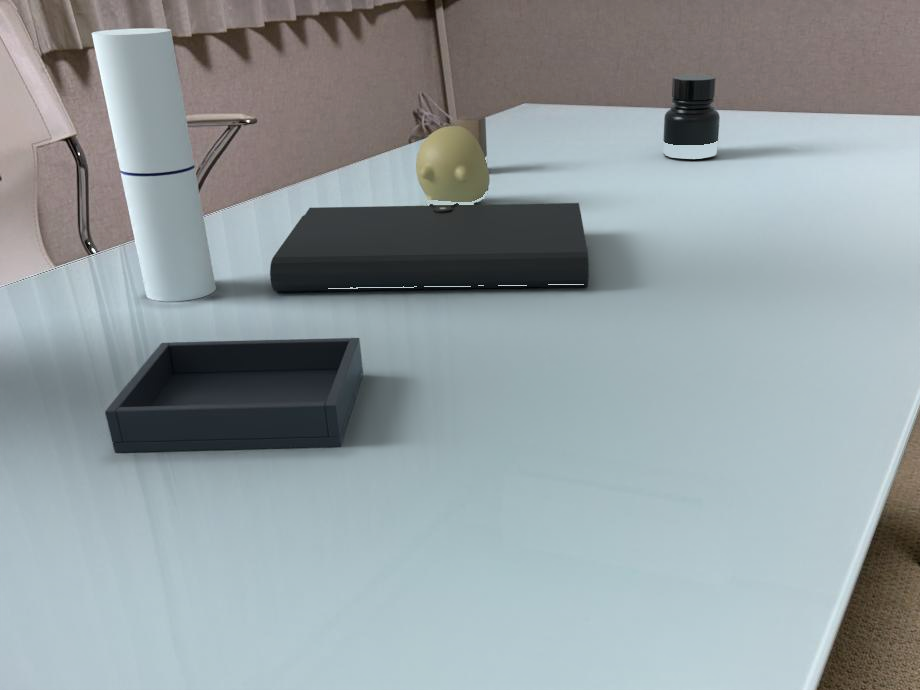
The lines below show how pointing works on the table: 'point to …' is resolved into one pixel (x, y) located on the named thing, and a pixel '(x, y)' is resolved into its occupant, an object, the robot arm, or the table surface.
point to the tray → (239, 396)
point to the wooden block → (475, 129)
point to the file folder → (433, 248)
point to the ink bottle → (692, 112)
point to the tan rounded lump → (452, 166)
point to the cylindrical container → (156, 161)
